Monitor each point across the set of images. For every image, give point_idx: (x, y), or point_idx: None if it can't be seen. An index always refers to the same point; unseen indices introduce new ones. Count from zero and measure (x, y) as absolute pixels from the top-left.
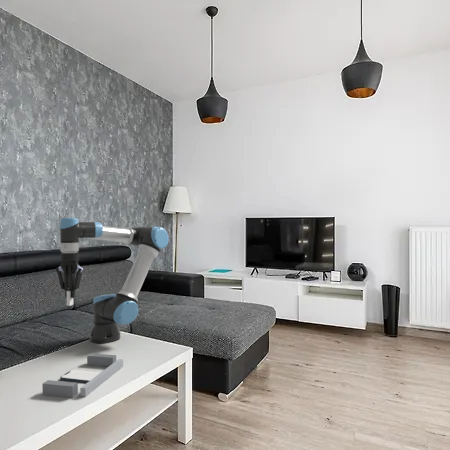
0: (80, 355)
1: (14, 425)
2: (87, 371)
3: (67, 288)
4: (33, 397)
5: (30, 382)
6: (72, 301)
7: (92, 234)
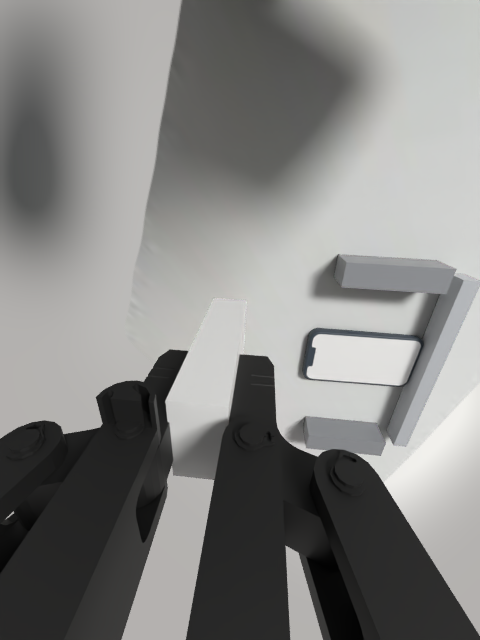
0: (266, 190)
1: None
2: (363, 340)
3: (159, 501)
4: (291, 436)
5: None
6: (243, 328)
7: None
